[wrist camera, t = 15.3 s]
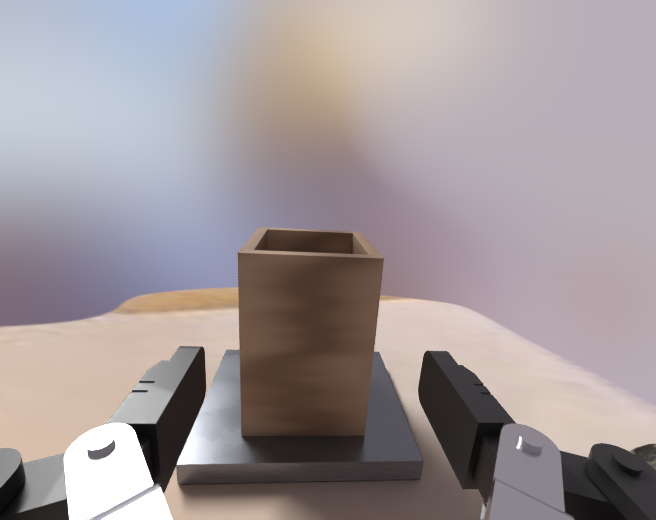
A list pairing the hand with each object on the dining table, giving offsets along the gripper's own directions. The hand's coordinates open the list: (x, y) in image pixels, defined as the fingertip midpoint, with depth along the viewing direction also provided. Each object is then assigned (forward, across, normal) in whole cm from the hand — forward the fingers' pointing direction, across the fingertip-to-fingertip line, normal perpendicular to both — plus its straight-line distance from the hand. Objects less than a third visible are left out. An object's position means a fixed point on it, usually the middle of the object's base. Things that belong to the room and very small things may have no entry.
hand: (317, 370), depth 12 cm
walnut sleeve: (+7, 0, -7) cm, 10 cm away
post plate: (+7, 0, -8) cm, 11 cm away
